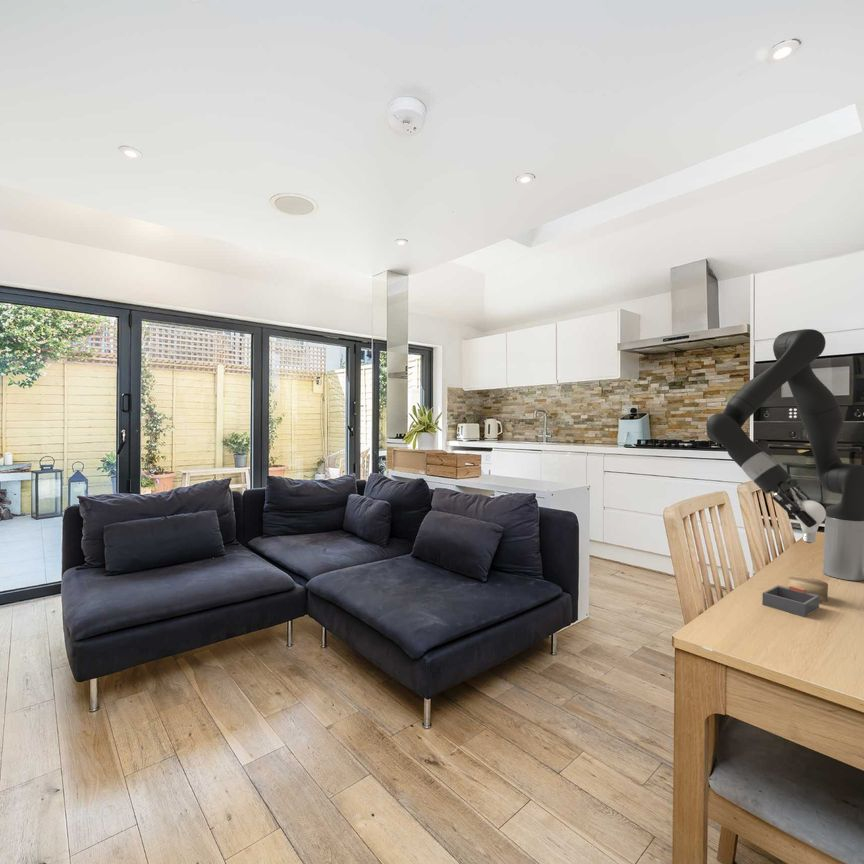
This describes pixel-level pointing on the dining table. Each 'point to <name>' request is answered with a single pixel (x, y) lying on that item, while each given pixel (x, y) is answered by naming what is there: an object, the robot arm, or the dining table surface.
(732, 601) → the dining table surface
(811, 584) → the oak stand
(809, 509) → the lightbulb
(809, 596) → the dark grey open tray
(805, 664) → the dining table surface
